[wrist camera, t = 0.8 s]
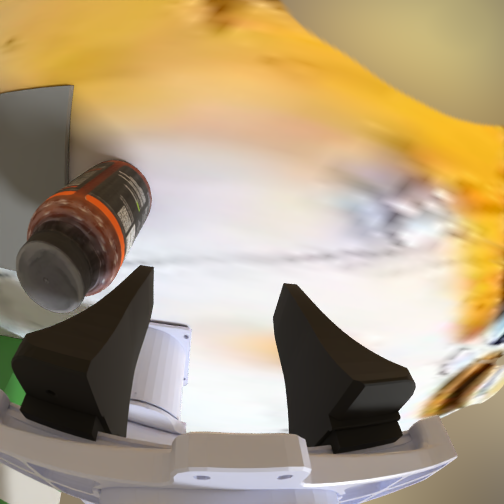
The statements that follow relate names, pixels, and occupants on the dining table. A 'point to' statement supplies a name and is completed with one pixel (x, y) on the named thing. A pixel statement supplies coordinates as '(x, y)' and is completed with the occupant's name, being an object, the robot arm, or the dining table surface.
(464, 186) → the dining table surface
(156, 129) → the dining table surface
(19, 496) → the hardback book
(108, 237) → the supplement bottle
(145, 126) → the dining table surface
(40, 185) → the mat
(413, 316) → the dining table surface
